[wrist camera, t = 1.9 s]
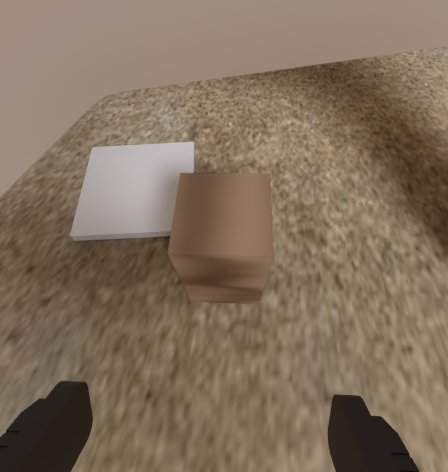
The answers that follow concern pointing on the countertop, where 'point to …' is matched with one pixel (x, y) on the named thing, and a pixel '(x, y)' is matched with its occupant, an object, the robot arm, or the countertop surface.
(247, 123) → the countertop surface
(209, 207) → the walnut block
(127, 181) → the ceramic tile
